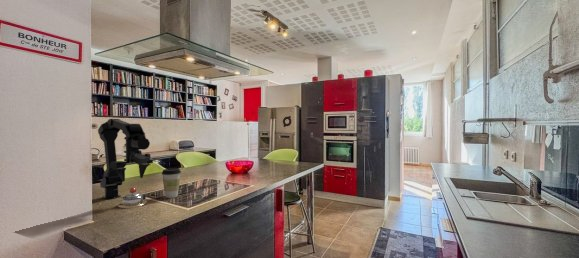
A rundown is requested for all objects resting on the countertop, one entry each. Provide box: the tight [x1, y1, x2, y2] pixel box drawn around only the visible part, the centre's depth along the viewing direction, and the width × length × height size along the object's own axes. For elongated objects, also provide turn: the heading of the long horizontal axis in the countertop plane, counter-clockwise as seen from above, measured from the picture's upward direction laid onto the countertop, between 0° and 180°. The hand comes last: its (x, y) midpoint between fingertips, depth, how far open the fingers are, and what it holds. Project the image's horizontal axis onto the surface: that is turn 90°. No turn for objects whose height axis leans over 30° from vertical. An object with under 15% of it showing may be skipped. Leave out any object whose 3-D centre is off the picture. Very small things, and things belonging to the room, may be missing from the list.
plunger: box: [125, 187, 141, 198], centre depth 124 cm, size 6×6×4 cm
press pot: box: [118, 193, 148, 209], centre depth 124 cm, size 12×12×4 cm
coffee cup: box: [161, 167, 182, 199], centre depth 138 cm, size 10×10×15 cm
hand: (132, 179), depth 124 cm, fingers open, 9 cm apart
